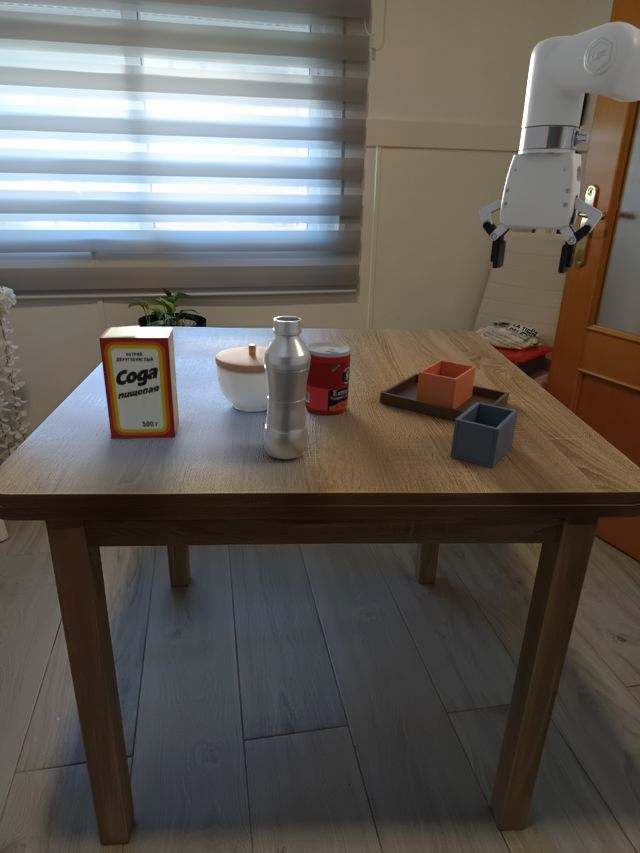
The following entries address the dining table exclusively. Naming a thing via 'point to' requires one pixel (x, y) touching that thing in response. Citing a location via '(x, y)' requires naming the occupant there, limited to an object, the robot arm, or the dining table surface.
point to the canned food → (328, 378)
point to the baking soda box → (140, 381)
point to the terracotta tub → (446, 383)
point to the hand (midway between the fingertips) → (529, 269)
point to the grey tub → (483, 434)
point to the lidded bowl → (243, 377)
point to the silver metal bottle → (286, 390)
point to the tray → (406, 398)
